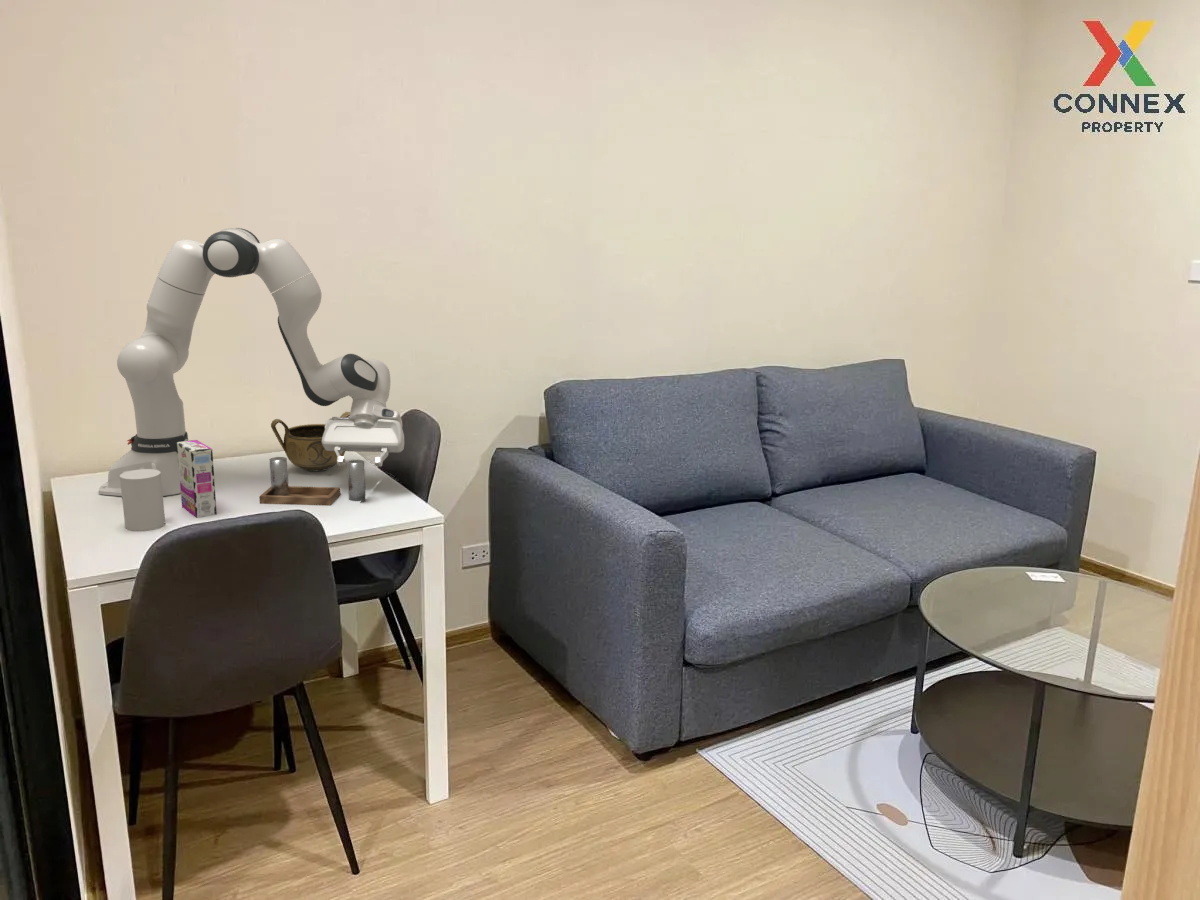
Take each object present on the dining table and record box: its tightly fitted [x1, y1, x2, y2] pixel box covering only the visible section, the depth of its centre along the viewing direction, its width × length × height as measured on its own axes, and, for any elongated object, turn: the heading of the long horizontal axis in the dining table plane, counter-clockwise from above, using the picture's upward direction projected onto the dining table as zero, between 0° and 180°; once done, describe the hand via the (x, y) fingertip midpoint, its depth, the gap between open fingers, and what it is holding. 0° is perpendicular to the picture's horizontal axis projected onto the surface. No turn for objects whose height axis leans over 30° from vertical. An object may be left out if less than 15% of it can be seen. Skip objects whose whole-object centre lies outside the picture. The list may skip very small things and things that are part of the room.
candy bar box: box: [177, 439, 218, 519], centre depth 217 cm, size 11×5×16 cm, turn 40°
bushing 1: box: [269, 456, 289, 496], centre depth 228 cm, size 4×4×10 cm
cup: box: [120, 469, 166, 532], centre depth 208 cm, size 8×8×12 cm
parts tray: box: [258, 485, 341, 507], centre depth 229 cm, size 17×9×2 cm, turn 90°
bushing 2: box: [347, 459, 367, 504], centre depth 230 cm, size 4×4×10 cm
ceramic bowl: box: [270, 411, 350, 472], centre depth 256 cm, size 22×17×15 cm
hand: (359, 464), depth 231 cm, fingers open, 8 cm apart
